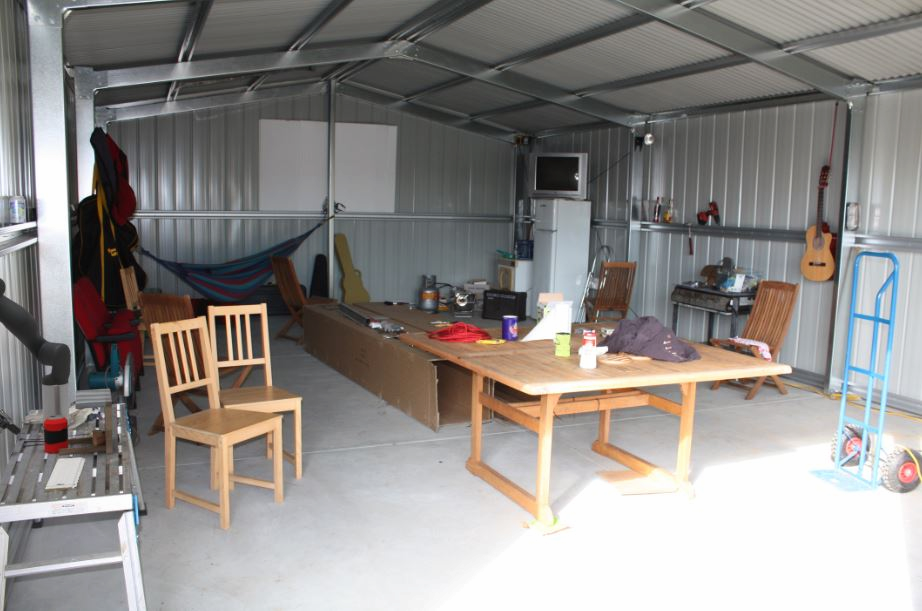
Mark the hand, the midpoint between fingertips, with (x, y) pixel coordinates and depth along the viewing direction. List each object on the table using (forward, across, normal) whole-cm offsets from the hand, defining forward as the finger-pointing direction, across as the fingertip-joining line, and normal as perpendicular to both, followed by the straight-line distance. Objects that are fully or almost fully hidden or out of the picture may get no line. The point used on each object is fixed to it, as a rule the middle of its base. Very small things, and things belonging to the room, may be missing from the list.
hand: (19, 432), depth 273 cm
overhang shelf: (+21, 0, -10) cm, 23 cm away
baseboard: (+17, -29, -5) cm, 34 cm away
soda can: (+14, 0, -3) cm, 14 cm away
